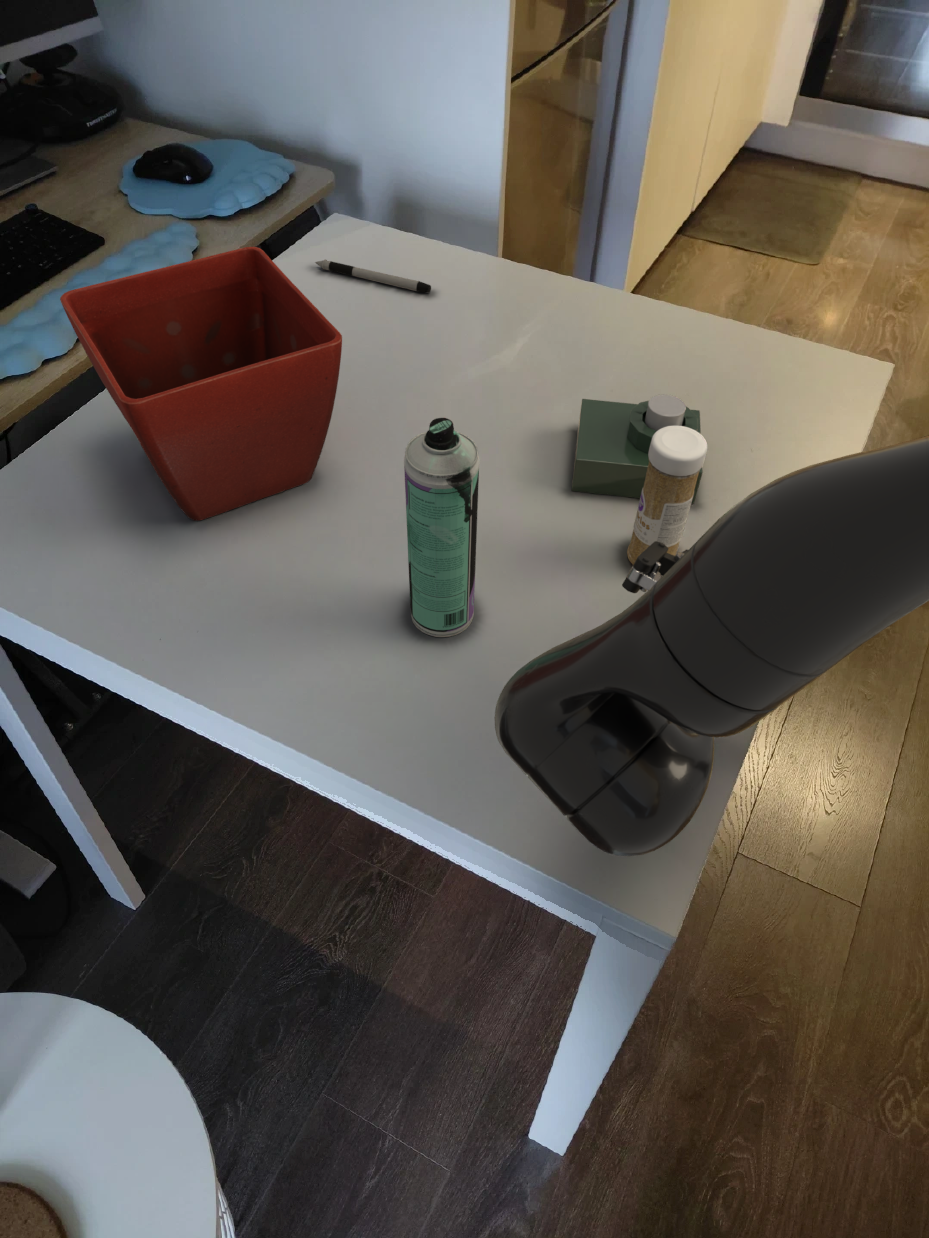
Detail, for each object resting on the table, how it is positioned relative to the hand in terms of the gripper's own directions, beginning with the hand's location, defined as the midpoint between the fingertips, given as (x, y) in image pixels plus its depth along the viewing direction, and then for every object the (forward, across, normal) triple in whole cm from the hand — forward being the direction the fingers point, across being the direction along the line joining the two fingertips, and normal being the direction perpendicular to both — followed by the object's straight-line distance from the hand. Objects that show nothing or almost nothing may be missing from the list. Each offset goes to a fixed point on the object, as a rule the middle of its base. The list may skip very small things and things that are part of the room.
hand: (743, 589), depth 71 cm
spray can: (-6, +20, +14) cm, 25 cm away
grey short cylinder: (+17, +16, -5) cm, 24 cm away
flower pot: (-1, +48, +16) cm, 51 cm away
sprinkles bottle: (+9, +9, +5) cm, 14 cm away
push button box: (+19, +17, +1) cm, 25 cm away
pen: (+33, +62, +1) cm, 70 cm away
